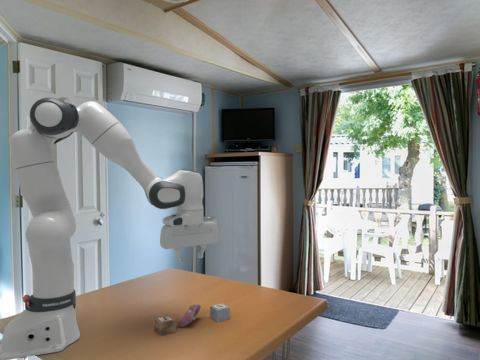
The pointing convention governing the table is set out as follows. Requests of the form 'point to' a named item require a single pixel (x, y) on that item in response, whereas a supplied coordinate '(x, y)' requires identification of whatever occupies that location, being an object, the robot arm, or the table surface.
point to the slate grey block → (220, 312)
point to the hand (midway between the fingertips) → (190, 259)
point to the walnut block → (165, 325)
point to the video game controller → (189, 315)
